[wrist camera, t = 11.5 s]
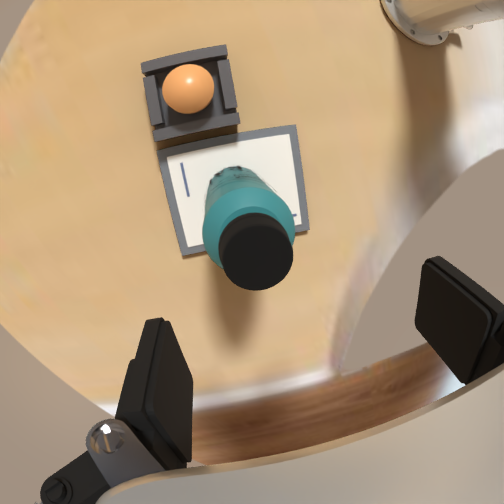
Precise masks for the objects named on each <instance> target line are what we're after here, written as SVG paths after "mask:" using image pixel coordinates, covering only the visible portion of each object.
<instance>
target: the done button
mask: <svg viewBox="0 0 504 504" xmlns="http://www.w3.org/2000/svg"><path fill="white" fill-rule="evenodd" d="M162 94H163V97H164V100H165V102H166V103H167V104H168V105H169V106H170V107H171V108H172V109H174V110H175V111H177V112H179V113H182V114H195V113H198V112H200V111H202V110H203V109H205V108H206V107H207V106H208V105H209V104H210V102H211V100H212V98H213V94H214V82H213V79H212V76H211V75H210V73H209V72H208V71H207V70H206V69H204V68H203V67H201V66H198V65H193V64H187V65H182V66H179V67H177V68H175V69H174V70H172V71H171V72H170V73H169V74H168V75H167V77H166V78H165V80H164V83H163V87H162Z"/></svg>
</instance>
